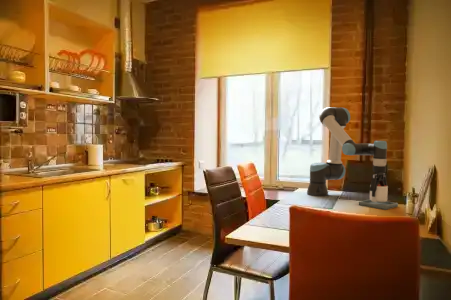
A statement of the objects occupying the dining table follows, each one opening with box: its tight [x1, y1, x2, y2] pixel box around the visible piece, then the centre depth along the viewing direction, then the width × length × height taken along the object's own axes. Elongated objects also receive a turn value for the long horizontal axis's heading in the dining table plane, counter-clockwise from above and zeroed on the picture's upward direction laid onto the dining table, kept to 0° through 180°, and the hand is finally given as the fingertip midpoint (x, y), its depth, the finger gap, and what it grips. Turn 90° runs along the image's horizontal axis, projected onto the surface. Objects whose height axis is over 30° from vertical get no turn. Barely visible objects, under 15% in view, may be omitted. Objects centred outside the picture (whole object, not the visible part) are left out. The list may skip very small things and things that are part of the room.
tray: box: [358, 198, 399, 211], centre depth 206 cm, size 17×17×2 cm
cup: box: [369, 183, 389, 202], centre depth 206 cm, size 10×10×10 cm
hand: (378, 200), depth 206 cm, fingers closed on cup, 10 cm apart
